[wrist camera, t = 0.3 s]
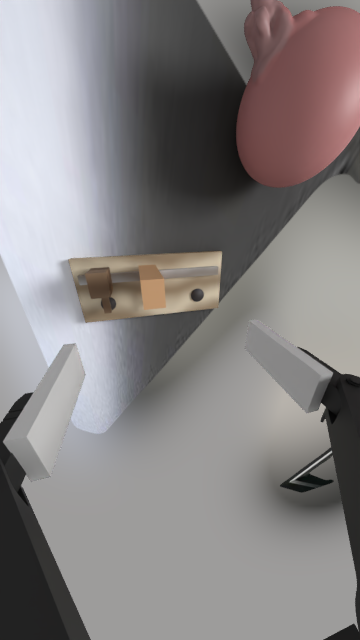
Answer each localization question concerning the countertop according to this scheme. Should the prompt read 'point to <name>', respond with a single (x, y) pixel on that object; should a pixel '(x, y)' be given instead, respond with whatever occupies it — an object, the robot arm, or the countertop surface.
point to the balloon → (298, 91)
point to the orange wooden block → (152, 287)
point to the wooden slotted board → (125, 289)
